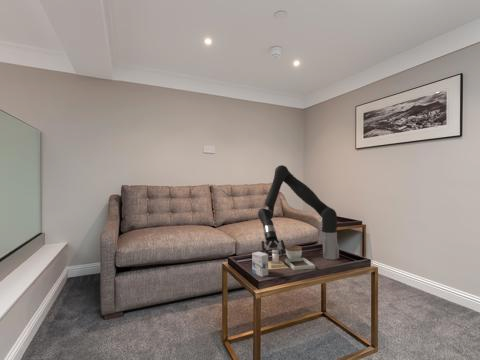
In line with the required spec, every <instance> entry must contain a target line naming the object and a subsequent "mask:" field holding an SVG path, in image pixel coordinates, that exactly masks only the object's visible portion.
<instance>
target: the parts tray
mask: <svg viewBox="0 0 480 360" xmlns="http://www.w3.org/2000/svg"><path fill="white" fill-rule="evenodd" d="M284 262H285V263H286V264H287V266H289V267H290V268H291V269H292V270H293V271H298V270H310V269H314V270H315V269H316V265H315V264H314V263H313V262H311V261H309V260H308V259H307V258H305V257H300V258H291V259H289V258H284ZM292 262H304V263H306V265H294V264H293V263H292Z"/></svg>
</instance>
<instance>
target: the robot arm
mask: <svg viewBox="0 0 480 360" xmlns="http://www.w3.org/2000/svg"><path fill="white" fill-rule="evenodd" d="M283 183H284V184H286V185H287V186H288V187H289V188H290V190H292V192H293V193H295V195H296V196H297V197H298V198H299V199H301V201H303V202H304V203H306V204H307V205H308V206H310V208H313V210H315V211H316V212H317V214H318V215H319V216H320V217H321V223H322V224H321V239H322V240H321V242H322V258H323V259H325V260H330V261H331V260H332V261H333V260H334V261H335V260H338V259H340V245H339V243H338V231H337V230H338V215H337V211H336V210H335V209H333V208H331V207H330V206H328V205H327V204H325V203H324V202H323V201H321V199H320V198H319V197H318V196H317V194H316V193H315V192H314V191H313V190H312V189H311V188H310V187H308V186H307V184H305V183H304V182H302V181H301V180H299V179H298V178H297V177H295V176H294V174H292V172H290V170H289V169H288V167H287V166H286V165H283V164H282V165H278V166H277V167H276V168H275V170H274V177H273V180H272V183H271V185H270V188H269V191H268V193H267V195H266V198H265V200H264V205H265V206H266V207H268V208H260V209H259V210H258V212H257V217H258V218H259V221H260V222H261V224H262V227H263V235H264V238H265V241H264V240H262V241H261V251H262V252H264V253H265V254H268V258H270V252H269V250H270V249H276V250H279V253H280V256H281V257H283V256H284V251H286V245H285V243H284V240H283V239H281V240H279V238H278V235H277V232H276V228H275V227H274V226H275V225H274V222H273V220H272V219H273V218H274V214H275V213H274V211H275V205H276V203H277V200H278V197H279V193H280V191H281V187H282V185H283ZM265 245H266V248H265Z"/></svg>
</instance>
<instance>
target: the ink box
mask: <svg viewBox="0 0 480 360" xmlns="http://www.w3.org/2000/svg"><path fill="white" fill-rule="evenodd" d="M251 255H252V256H251V257H252V259H251V260H252V261H251V262H252V264H251V266H252V268H251V269H252V271H251V273H252V274H255V275H257V276H259V277H261V278H262V277H265V276H269V269H268V261H269V257H268V254H266V252H263V251H262V252H261V251H255V252H252V253H251Z"/></svg>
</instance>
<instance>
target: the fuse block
mask: <svg viewBox="0 0 480 360" xmlns="http://www.w3.org/2000/svg"><path fill="white" fill-rule="evenodd" d="M278 269H289V267H288V265H286V264H285V263H284V262H283V261H281V260H279V264H272V260H271V261H270V260H268V270H278Z"/></svg>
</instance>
